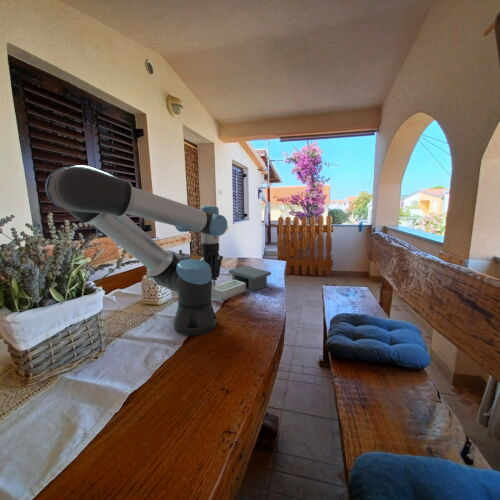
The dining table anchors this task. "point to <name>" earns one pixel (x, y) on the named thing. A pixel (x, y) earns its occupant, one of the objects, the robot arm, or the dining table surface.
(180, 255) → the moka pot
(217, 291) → the pale green open box
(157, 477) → the dining table surface
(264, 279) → the grey drawer cabinet
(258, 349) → the dining table surface
